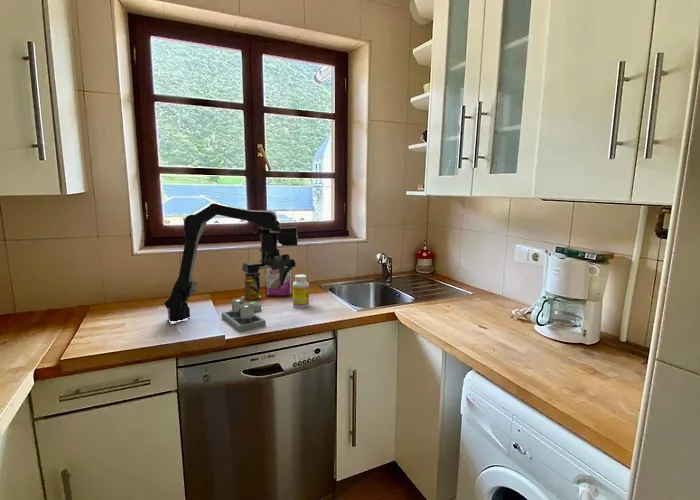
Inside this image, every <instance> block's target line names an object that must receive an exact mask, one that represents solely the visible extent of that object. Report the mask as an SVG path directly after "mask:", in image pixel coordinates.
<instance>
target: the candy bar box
mask: <svg viewBox="0 0 700 500" xmlns="http://www.w3.org/2000/svg"><path fill="white" fill-rule="evenodd" d="M265 266H268V265H265ZM291 273H292V271H291V270H290V271H289V272H288V273H287V275H286V278H285V281H284V283H283V286H280V279H279V269H277V270H272V269H271V267H270V268H264V281H265V282H264V284H265V287H264V289H265V290H264V291H265V296H266V297H268V296H269V297H270V296H271V297H272V296H273V297H274V296H275V297H276V296H277V297H279V296H280V297H281V296H283V297H284V296H285V297H286V296H287V297H290V296H291V293H292V283H291V282H292V274H291Z"/></svg>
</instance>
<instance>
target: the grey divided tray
mask: <svg viewBox="0 0 700 500" xmlns="http://www.w3.org/2000/svg"><path fill="white" fill-rule="evenodd" d="M221 319H222V320H224V321H225V322H226V323H228V325H230V326H231V327H232V328H233V329H235V330H236V331H237V332H239V333H241V332H242V333H243V332H245V331H250V330H254V329H258V328H262V327H266V326H267V325H266V324H267V323H266V319H264V318H263V317H261V316H259V315H258V314H257V313H256V312H254V322H251V323H247V324H242V325H241V318H240V317H235V318H232V310H228V311H222V312H221Z"/></svg>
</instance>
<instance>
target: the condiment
mask: <svg viewBox="0 0 700 500" xmlns="http://www.w3.org/2000/svg"><path fill="white" fill-rule="evenodd" d="M244 276H245V278H244V293H245V295H242V296H241V299H244V300H245V301H255V300H258V299H260V298H262V296H261V295H260V290H257V288H256V285H255V283H254V281H253V279H252V277H251V276H250V274H248V273H246V272H245V273H244Z"/></svg>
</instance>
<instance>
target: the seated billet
mask: <svg viewBox="0 0 700 500" xmlns="http://www.w3.org/2000/svg"><path fill="white" fill-rule="evenodd" d="M245 301H246V300H244V299H241V298H240V297H239V298H233V299H232V300H231V311H232V318H235V317H240V306H241V305H243V304H245Z"/></svg>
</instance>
